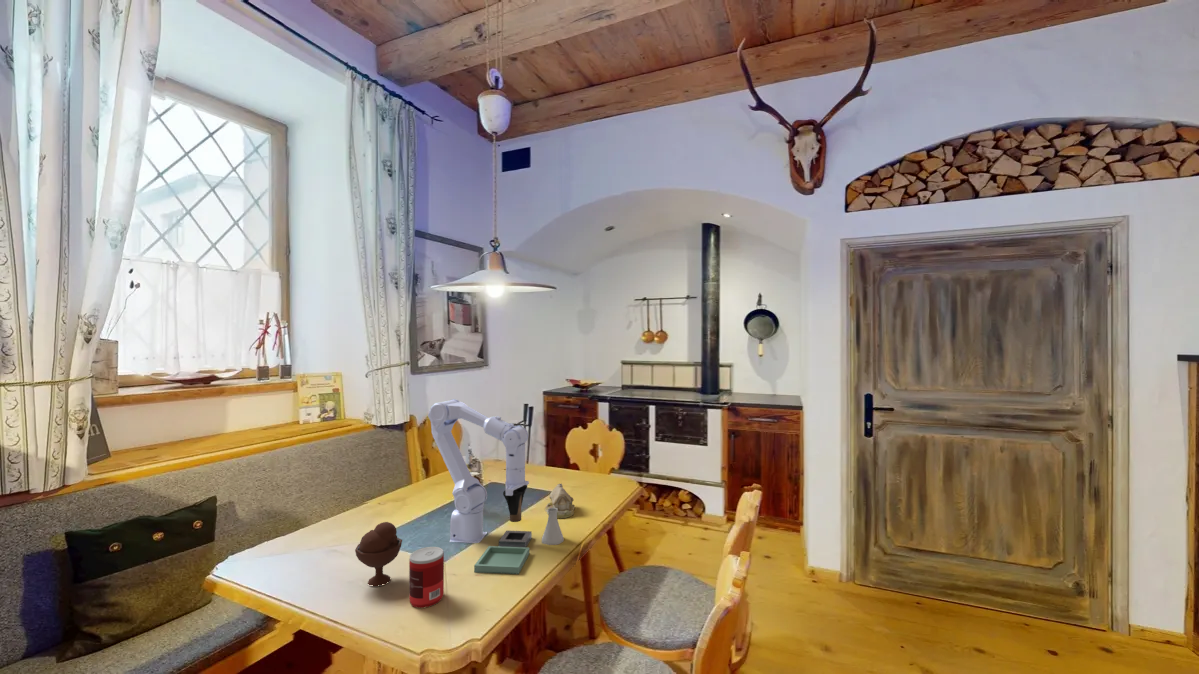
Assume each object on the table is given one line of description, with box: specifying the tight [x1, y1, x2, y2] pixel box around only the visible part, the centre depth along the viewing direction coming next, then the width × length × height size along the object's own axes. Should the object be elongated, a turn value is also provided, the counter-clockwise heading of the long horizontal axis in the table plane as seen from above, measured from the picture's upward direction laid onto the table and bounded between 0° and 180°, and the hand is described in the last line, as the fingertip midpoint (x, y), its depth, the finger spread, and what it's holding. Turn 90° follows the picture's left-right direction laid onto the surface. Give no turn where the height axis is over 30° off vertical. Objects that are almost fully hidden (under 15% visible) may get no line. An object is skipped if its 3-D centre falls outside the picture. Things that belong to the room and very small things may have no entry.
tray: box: [473, 545, 530, 575], centre depth 132 cm, size 12×12×2 cm
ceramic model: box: [544, 483, 576, 519], centre depth 173 cm, size 14×11×10 cm
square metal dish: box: [498, 530, 533, 548], centre depth 145 cm, size 8×8×2 cm
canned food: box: [408, 546, 445, 609], centre depth 114 cm, size 8×8×11 cm
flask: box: [541, 508, 565, 546], centre depth 147 cm, size 7×7×10 cm
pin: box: [509, 498, 522, 523], centre depth 145 cm, size 4×4×8 cm
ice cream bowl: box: [354, 521, 403, 586], centre depth 123 cm, size 11×11×15 cm
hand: (515, 512), depth 145 cm, fingers closed on pin, 3 cm apart
